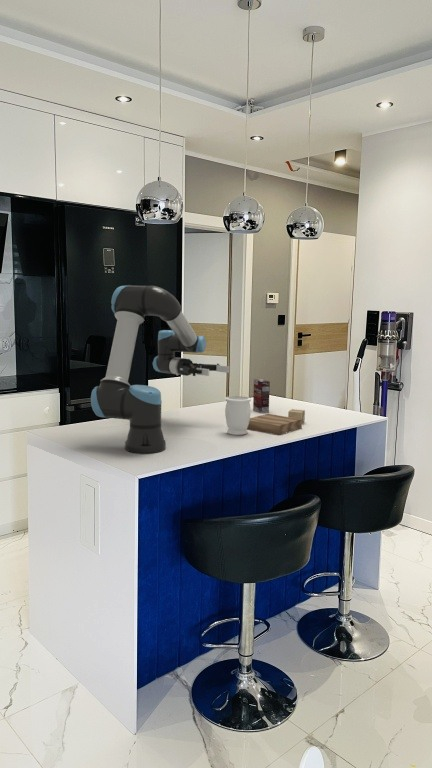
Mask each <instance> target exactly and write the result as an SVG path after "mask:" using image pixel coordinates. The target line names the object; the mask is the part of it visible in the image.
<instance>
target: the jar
mask: <svg viewBox="0 0 432 768" xmlns="http://www.w3.org/2000/svg"><path fill="white" fill-rule="evenodd" d="M251 400H252V399H251V398H250V397H248V396H238V395H237V396H235V395H234V396H226V397H225V401H226V404H225V409H224V413H225V414H224V415H225V422H226V423H225V424H226V427H227V428H228V430H227V431H226V433H228V434H229V435H233V436H242V435H243V436H245V435H247V434H248V429H247V427H248V425H249V420H250V418H251V403H250V402H251Z"/></svg>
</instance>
